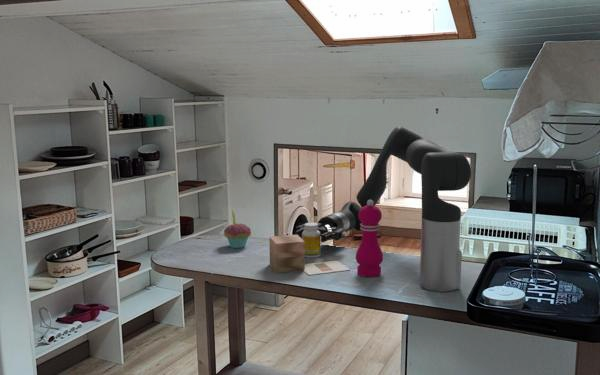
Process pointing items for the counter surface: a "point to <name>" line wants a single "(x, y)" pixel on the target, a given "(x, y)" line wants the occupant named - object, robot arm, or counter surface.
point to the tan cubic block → (287, 253)
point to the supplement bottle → (311, 240)
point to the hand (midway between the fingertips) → (309, 236)
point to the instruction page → (324, 267)
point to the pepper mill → (369, 242)
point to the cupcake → (237, 234)
